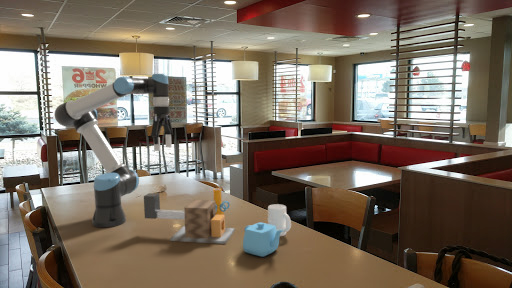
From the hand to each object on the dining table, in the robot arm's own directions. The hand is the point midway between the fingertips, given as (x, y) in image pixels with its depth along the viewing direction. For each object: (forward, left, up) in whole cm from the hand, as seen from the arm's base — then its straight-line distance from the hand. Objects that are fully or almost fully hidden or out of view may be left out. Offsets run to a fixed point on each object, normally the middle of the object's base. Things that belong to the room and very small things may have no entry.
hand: (163, 149), depth 187 cm
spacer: (+34, -22, -30) cm, 50 cm away
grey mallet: (+14, -22, -27) cm, 38 cm away
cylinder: (+27, +1, -35) cm, 44 cm away
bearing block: (+26, -22, -35) cm, 49 cm away
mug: (+60, -16, -35) cm, 71 cm away
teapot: (+56, -36, -35) cm, 75 cm away
